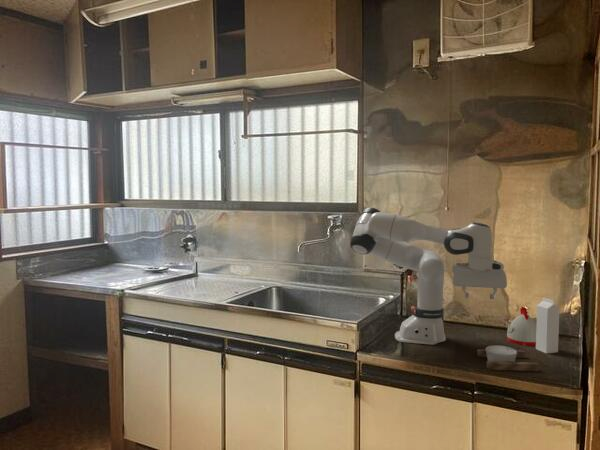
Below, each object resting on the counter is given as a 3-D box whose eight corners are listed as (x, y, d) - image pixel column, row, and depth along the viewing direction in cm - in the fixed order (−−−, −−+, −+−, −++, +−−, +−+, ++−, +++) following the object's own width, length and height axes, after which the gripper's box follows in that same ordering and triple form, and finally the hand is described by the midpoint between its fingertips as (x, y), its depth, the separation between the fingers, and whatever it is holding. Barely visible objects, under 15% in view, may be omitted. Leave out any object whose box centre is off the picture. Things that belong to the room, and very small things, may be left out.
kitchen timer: (534, 336, 227) (535, 304, 226) (546, 346, 213) (547, 311, 212) (502, 335, 228) (503, 303, 227) (512, 345, 214) (513, 311, 213)
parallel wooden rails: (487, 369, 187) (488, 363, 186) (477, 355, 202) (477, 349, 202) (537, 371, 185) (538, 364, 185) (523, 356, 201) (523, 350, 200)
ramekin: (523, 366, 190) (523, 352, 190) (498, 369, 187) (498, 355, 186) (503, 356, 201) (503, 344, 200) (479, 359, 198) (479, 346, 197)
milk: (546, 353, 204) (547, 301, 202) (535, 349, 209) (536, 297, 207) (558, 352, 205) (559, 299, 203) (547, 347, 211) (548, 296, 209)
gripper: (452, 263, 197) (451, 298, 198) (508, 265, 191) (507, 301, 192) (452, 261, 203) (451, 295, 204) (506, 263, 197) (505, 297, 198)
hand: (479, 298), depth 198 cm, fingers open, 8 cm apart
